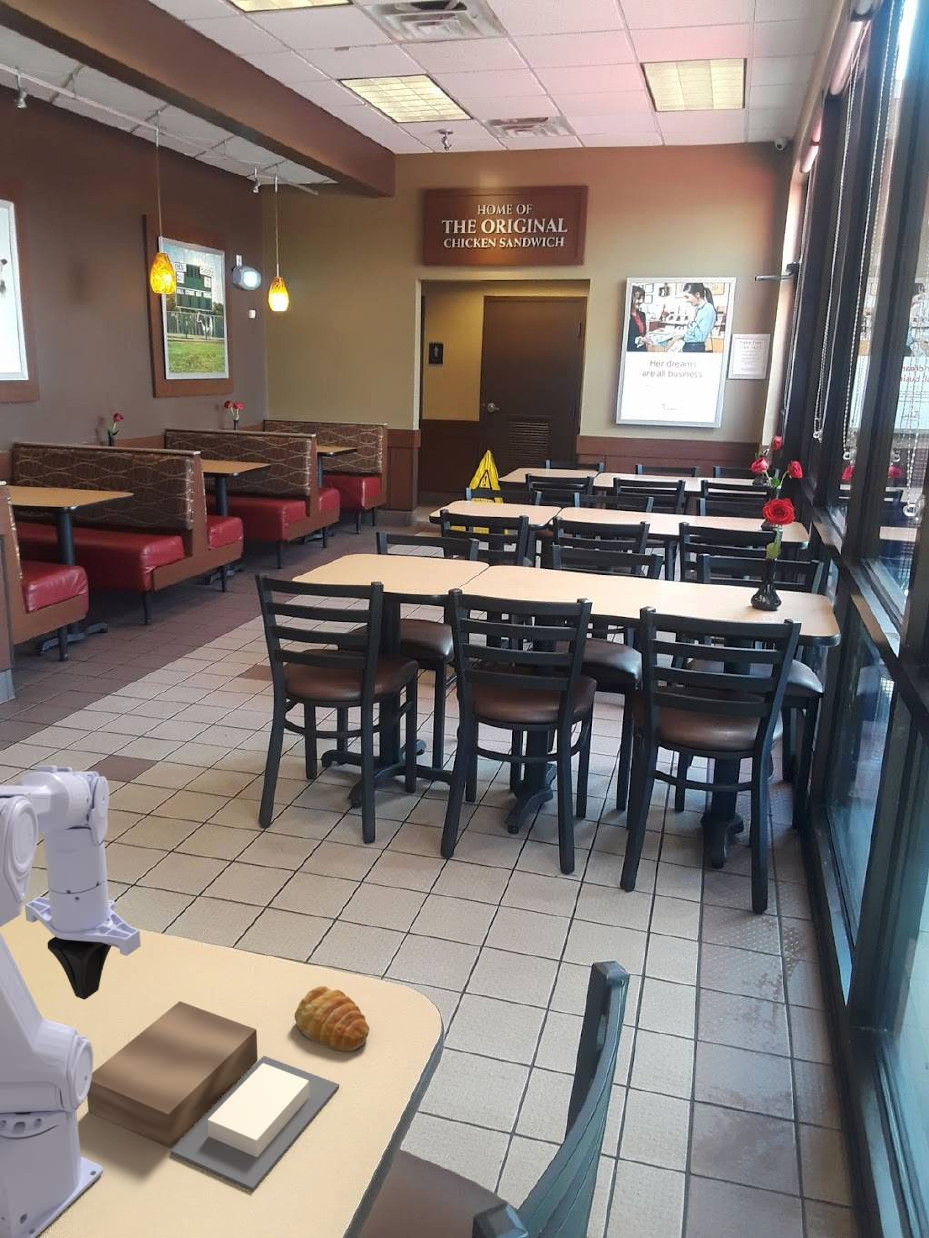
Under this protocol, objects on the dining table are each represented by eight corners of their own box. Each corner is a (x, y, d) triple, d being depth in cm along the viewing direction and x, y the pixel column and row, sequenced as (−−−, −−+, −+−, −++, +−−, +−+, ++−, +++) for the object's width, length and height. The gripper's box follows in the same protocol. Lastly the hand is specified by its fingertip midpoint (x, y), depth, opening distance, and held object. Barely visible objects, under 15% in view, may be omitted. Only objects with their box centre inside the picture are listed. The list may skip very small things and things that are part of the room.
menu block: (207, 1119, 93) (208, 1136, 93) (256, 1140, 90) (257, 1157, 91) (262, 1062, 100) (263, 1078, 101) (309, 1080, 98) (309, 1096, 98)
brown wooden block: (170, 1148, 92) (168, 1114, 91) (88, 1111, 96) (85, 1078, 95) (257, 1059, 104) (256, 1029, 103) (181, 1030, 109) (179, 1000, 108)
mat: (253, 1191, 87) (253, 1187, 87) (170, 1153, 91) (170, 1150, 91) (339, 1087, 100) (339, 1084, 100) (263, 1058, 104) (263, 1055, 104)
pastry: (383, 1035, 109) (383, 1007, 108) (340, 1066, 104) (340, 1036, 103) (330, 1001, 115) (330, 974, 114) (287, 1028, 110) (286, 1000, 109)
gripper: (158, 878, 98) (165, 991, 101) (58, 848, 104) (67, 955, 107) (107, 910, 92) (116, 1029, 95) (4, 876, 97) (15, 989, 101)
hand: (87, 992), depth 100 cm, fingers closed
